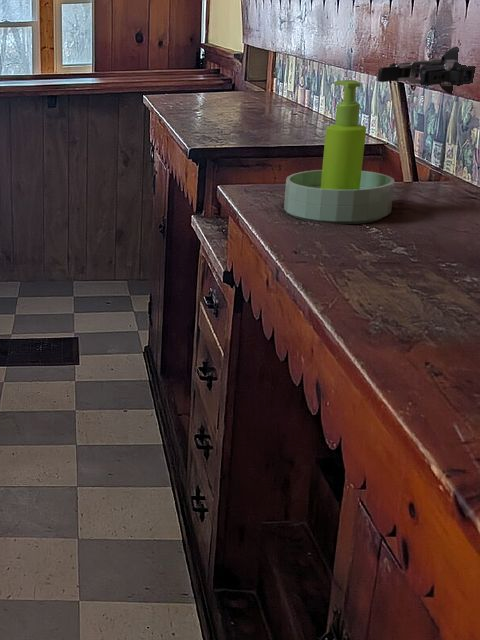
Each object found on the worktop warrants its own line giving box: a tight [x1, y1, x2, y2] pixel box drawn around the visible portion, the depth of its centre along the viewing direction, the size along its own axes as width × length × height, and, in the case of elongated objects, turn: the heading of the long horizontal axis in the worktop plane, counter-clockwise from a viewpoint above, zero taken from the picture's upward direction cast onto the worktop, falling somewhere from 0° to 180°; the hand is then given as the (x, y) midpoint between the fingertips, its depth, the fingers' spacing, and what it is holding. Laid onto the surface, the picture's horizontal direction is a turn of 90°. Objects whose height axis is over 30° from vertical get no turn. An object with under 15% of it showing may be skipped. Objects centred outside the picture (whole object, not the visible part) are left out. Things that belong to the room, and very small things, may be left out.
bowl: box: [283, 169, 396, 225], centre depth 140 cm, size 16×16×6 cm
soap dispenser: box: [321, 79, 367, 189], centre depth 137 cm, size 6×7×20 cm
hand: (400, 76), depth 135 cm, fingers open, 8 cm apart
